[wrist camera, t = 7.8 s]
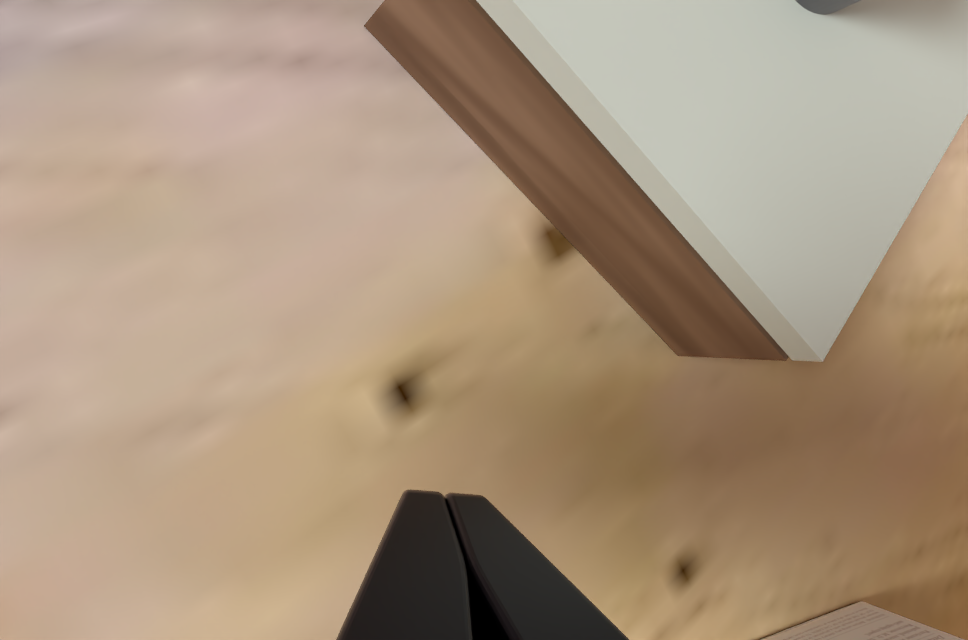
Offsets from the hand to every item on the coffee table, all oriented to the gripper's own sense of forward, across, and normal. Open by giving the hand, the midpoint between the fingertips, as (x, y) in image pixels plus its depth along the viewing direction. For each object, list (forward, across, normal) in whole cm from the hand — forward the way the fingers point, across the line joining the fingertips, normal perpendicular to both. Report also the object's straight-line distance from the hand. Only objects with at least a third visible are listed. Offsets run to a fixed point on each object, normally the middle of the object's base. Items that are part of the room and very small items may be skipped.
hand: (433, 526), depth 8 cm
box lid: (+14, -9, -7) cm, 19 cm away
